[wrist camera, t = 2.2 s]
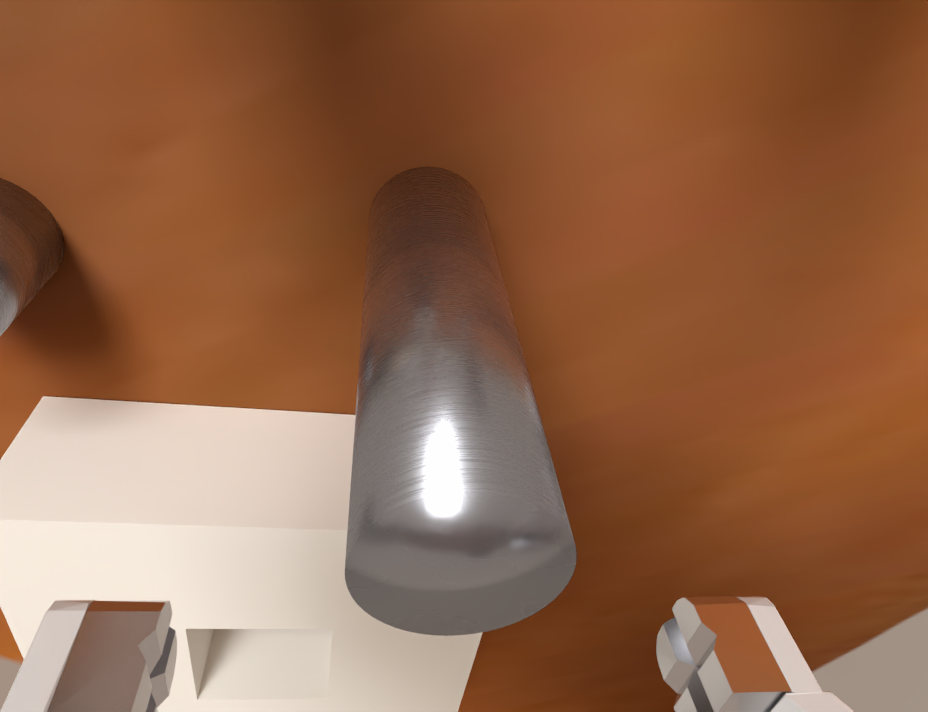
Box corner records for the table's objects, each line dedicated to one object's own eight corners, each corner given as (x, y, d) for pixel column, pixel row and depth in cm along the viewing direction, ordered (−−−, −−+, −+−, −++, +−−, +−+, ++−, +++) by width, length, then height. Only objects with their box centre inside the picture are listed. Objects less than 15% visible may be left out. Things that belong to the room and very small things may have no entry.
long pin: (494, 175, 22) (604, 498, 10) (474, 279, 24) (546, 635, 13) (373, 159, 21) (351, 487, 10) (365, 268, 23) (339, 635, 12)
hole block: (492, 423, 28) (513, 535, 23) (437, 646, 39) (443, 755, 34) (43, 396, 25) (-39, 518, 20) (114, 645, 36) (71, 765, 31)
